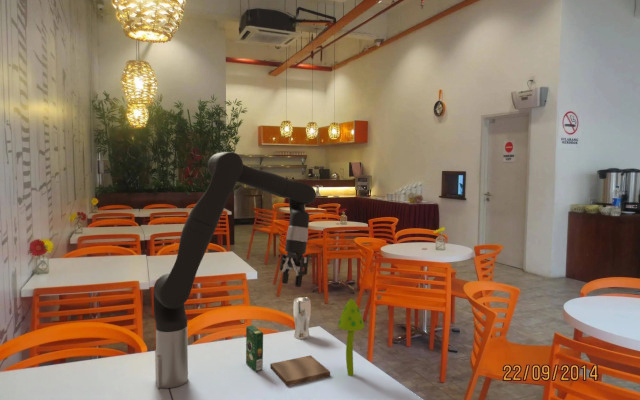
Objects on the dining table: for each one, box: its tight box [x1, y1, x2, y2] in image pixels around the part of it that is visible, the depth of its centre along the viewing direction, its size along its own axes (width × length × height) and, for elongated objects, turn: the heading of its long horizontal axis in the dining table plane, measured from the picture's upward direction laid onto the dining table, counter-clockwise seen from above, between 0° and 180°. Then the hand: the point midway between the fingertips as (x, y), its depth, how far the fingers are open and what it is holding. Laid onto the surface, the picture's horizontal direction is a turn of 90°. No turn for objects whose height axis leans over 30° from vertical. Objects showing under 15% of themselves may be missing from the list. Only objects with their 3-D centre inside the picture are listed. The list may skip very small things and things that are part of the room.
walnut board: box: [269, 355, 331, 387], centre depth 142 cm, size 15×14×2 cm
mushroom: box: [337, 298, 365, 377], centre depth 140 cm, size 8×8×25 cm
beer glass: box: [292, 296, 312, 340], centre depth 173 cm, size 7×7×15 cm
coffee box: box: [245, 324, 264, 373], centre depth 145 cm, size 8×3×13 cm, turn 33°
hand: (291, 285), depth 155 cm, fingers open, 8 cm apart
